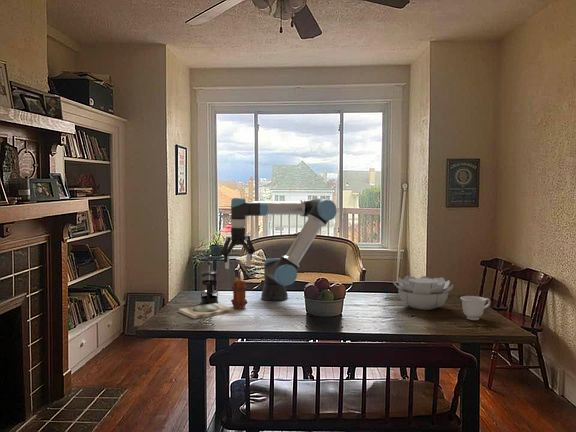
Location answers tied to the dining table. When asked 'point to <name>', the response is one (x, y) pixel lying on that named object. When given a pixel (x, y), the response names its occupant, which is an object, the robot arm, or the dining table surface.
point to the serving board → (205, 310)
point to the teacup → (474, 306)
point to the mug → (239, 294)
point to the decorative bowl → (423, 291)
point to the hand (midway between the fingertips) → (238, 267)
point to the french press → (209, 287)
